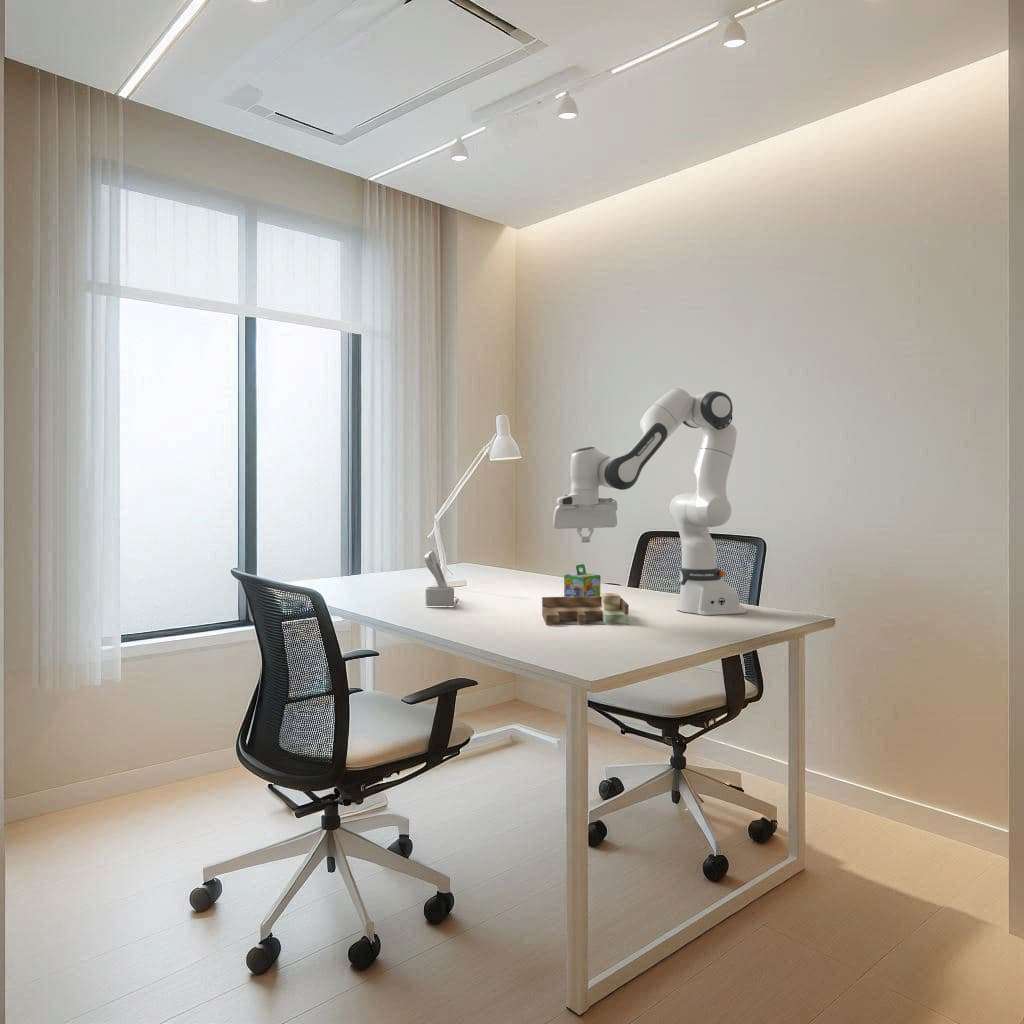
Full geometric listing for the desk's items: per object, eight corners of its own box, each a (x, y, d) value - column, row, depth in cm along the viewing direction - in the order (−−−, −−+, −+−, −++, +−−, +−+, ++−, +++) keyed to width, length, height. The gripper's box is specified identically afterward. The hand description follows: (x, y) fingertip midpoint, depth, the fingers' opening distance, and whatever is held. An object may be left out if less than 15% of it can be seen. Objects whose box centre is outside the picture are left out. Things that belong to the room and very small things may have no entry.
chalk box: (584, 612, 254) (584, 567, 253) (563, 608, 260) (563, 565, 259) (601, 608, 260) (601, 564, 259) (580, 605, 267) (580, 562, 266)
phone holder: (453, 607, 262) (453, 555, 261) (424, 607, 262) (423, 555, 261) (458, 598, 280) (458, 549, 278) (430, 598, 280) (430, 549, 279)
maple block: (617, 607, 246) (617, 593, 246) (620, 609, 241) (620, 595, 241) (601, 607, 246) (601, 593, 246) (604, 610, 241) (604, 595, 241)
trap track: (619, 614, 249) (619, 596, 249) (628, 624, 234) (628, 604, 234) (542, 615, 248) (542, 597, 248) (546, 625, 233) (546, 605, 233)
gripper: (615, 497, 248) (615, 540, 249) (551, 498, 247) (552, 542, 248) (619, 498, 241) (619, 542, 242) (554, 499, 240) (554, 544, 241)
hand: (585, 542), depth 245 cm, fingers closed
